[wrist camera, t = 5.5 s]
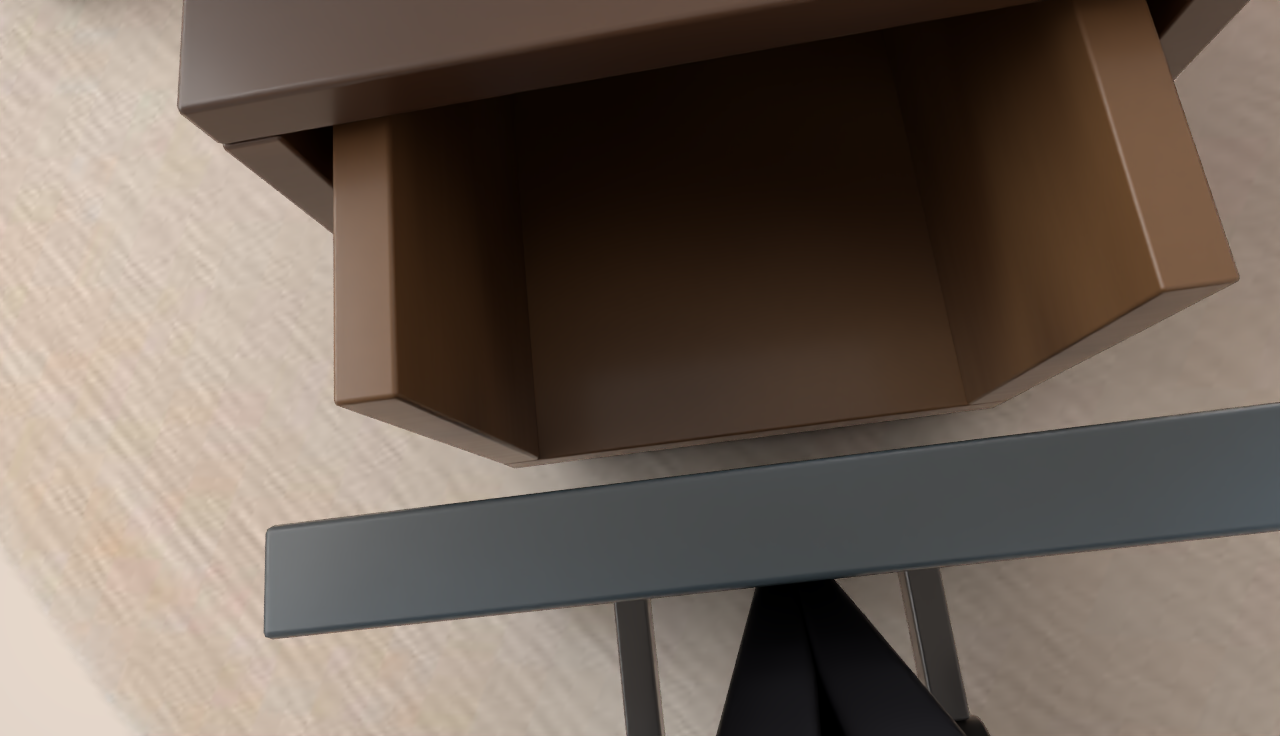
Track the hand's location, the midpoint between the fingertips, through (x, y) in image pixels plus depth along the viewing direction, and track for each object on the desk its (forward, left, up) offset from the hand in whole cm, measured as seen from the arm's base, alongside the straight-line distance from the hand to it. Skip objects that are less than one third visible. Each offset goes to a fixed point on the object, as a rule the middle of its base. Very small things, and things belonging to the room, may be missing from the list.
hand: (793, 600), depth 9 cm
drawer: (+2, -4, -6) cm, 8 cm away
